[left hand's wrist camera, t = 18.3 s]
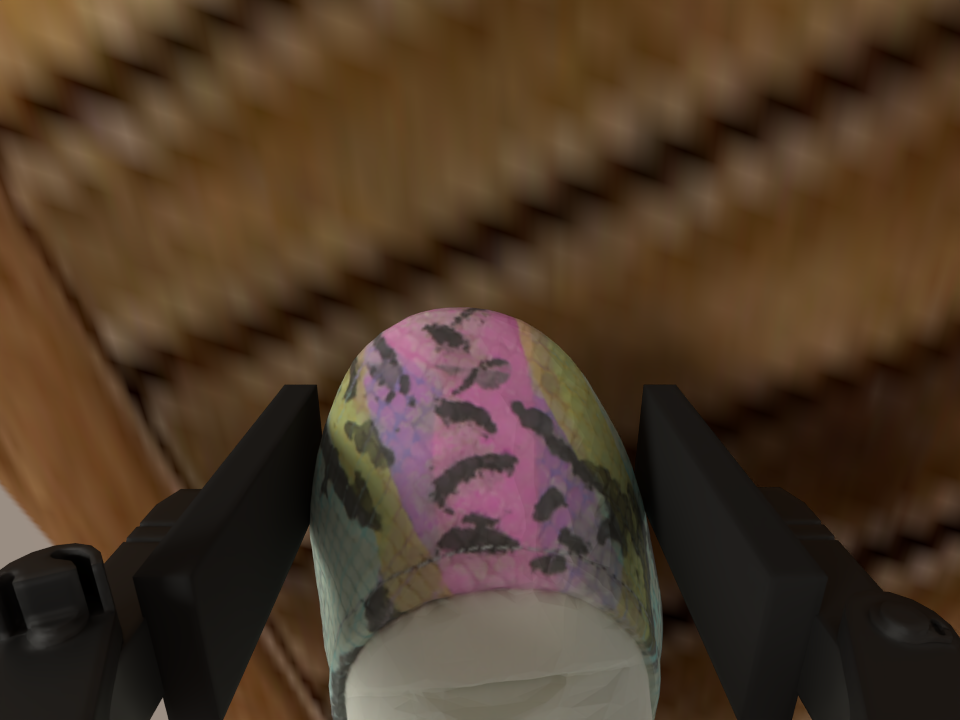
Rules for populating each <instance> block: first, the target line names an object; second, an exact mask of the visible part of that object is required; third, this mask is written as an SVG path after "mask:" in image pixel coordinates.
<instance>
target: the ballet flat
mask: <svg viewBox="0 0 960 720" xmlns="http://www.w3.org/2000/svg"><path fill="white" fill-rule="evenodd" d="M310 539H311V544H312V550H313V558H314V566H315V574H316V581H317V587H318V593H319V600H320V608H321V619H322V624H323V637H324V646H325V651H326V655H327V661H328V664H329V671H330V679H329V691H330V701H331V709H332V717H333V720H654V718H655V713H656V709H657V704H658V699H659V693H660V681H661V676H660V657H661V651H662V636H663V616H662V602H661V595H660V589H659V583H658V577H657V571H656V566H655V560H654V555H653V550H652V545H651V540H650V534H649V528H648V523H647V519H646V514H645V510H644V505H643V501H642V497H641V494H640V491H639V487H638V484H637V481H636V478H635V475H634V471H633V468H632V466H631V463H630V460H629V458H628V455H627V453H626V450H625V448H624V445H623V443H622V441H621V439H620V437H619V435H618V433H617V431H616V429H615V427H614V425H613V423H612V422H611V420H610V418H609V416H608V414H607V413H606V411H605V409H604V407H603V406H602V404H601V402H600V401H599V399H598V397H597V396H596V394H595V392H594V391H593V389H592V387H591V386H590V384H589V382H588V381H587V379H586V378H585V376H584V375H583V374H582V372H581V371H580V370H579V368H578V367H577V366H576V364H575V363H574V362H573V361H572V359H571V358H570V357H569V356H568V355H567V354H566V353H565V352H564V351H563V350H562V349H561V348H560V347H559V346H558V345H557V344H556V343H554V342H553V341H552V340H551V339H549V338H548V337H547V336H546V335H544V334H543V333H542V332H540V331H539V330H537V329H535V328H534V327H532V326H530V325H529V324H527V323H525V322H524V321H522V320H519V319H516V318H513V317H511V316H508V315H505V314H502V313H499V312H495V311H491V310H485V309H477V308H440V309H433V310H429V311H425V312H421V313H418V314H415V315H412V316H410V317H407V318H406V319H404V320H402V321H401V322H399V323H397V324H395V325H394V326H392V327H390V328H389V329H387V330H385V331H383V332H382V333H380V334H379V335H378V336H377V337H376V338H375V339H374V340H373V341H372V342H370V343H369V344H368V345H367V346H366V347H365V348H364V349H363V350H362V351H361V352H360V353H359V355H358V356H357V357H356V358H355V359H354V361H353V363H352V364H351V366H350V368H349V370H348V372H347V374H346V375H345V377H344V379H343V381H342V383H341V385H340V387H339V389H338V392H337V395H336V397H335V400H334V403H333V405H332V408H331V411H330V413H329V416H328V419H327V421H326V424H325V427H324V431H323V435H322V439H321V442H320V446H319V450H318V454H317V459H316V465H315V472H314V478H313V486H312V495H311V504H310Z"/></svg>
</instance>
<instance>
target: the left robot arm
mask: <svg viewBox="0 0 960 720" xmlns="http://www.w3.org/2000/svg"><path fill="white" fill-rule="evenodd" d="M321 439H322V430H321V420H320V411H319V401H318V392H317V385H284V386H283V388H282V389H281V390H280V391H279V393H278V394H277V395H276V396H275V398H274V399H273V400H272V402H271V403H270V404H269V405H268V407H267V408H266V409H265V410H264V412H263V413H262V414H261V415H260V417H259V418H258V419H257V420H256V422H255V423H254V424H253V425H252V427H251V428H250V429H249V431H248V432H247V433H246V434H245V436H244V437H243V438H242V439H241V441H240V442H239V443H238V444H237V446H236V447H235V448H234V449H233V451H232V452H231V453H230V454H229V456H228V457H227V458H226V460H225V461H224V462H223V463H222V465H221V466H220V467H219V468H218V470H217V471H216V472H215V473H214V475H213V476H212V477H211V478H210V480H209V481H208V482H207V483H206V485H205V486H204V487H203V489H180V490H179V491H177V492H176V493H174V494H172V495H171V496H169V497H168V498H166V499H165V500H163V501H161V502H160V503H158V504H157V505H156V506H155V507H154V508H153V509H152V510H151V511H150V512H149V514H148V515H147V516H146V517H145V518H144V519H143V520H142V522H141V523H140V527H136V528H135V529H134V531H133V532H132V533H131V534H130V535H129V536H128V537H127V541H126V542H123V543H122V544H121V545H120V546H119V548H118V549H117V550H116V551H115V552H114V553H113V554H112V555H111V557H110V558H109V559H108V560H107V561H106V562H105V563H103V559H102V556H101V552H100V551H98V550H97V549H95V548H94V547H93V546H91V545H84V544H77V543H73V544H64V545H56V546H52V547H49V548H45V549H42V550H39V551H35V552H32V553H30V554H28V555H25V556H23V557H21V558H19V559H17V560H15V561H13V562H11V563H9V564H8V565H6V566H5V567H4V568H2V569H1V570H0V720H150V719H151V717H152V715H153V713H154V712H155V710H156V708H157V706H158V705H159V703H160V701H161V699H162V698H163V700H164V704H165V708H166V711H167V715H168V719H169V720H223V719H224V716H225V714H226V712H227V710H228V707H229V705H230V703H231V701H232V698H233V696H234V694H235V692H236V689H237V687H238V685H239V683H240V680H241V678H242V676H243V674H244V671H245V669H246V667H247V664H248V662H249V660H250V658H251V655H252V653H253V651H254V649H255V646H256V644H257V642H258V640H259V637H260V635H261V633H262V631H263V628H264V626H265V624H266V621H267V619H268V617H269V615H270V612H271V610H272V608H273V606H274V603H275V601H276V599H277V597H278V594H279V592H280V590H281V588H282V585H283V583H284V581H285V578H286V576H287V574H288V572H289V569H290V567H291V565H292V563H293V560H294V558H295V556H296V554H297V551H298V549H299V547H300V545H301V542H302V540H303V538H304V535H305V533H306V531H307V529H308V526H309V524H310V504H311V495H312V486H313V478H314V472H315V465H316V459H317V454H318V450H319V446H320V442H321ZM634 475H635V478H636V481H637V484H638V487H639V491H640V494H641V497H642V501H643V505H644V510H645V512H646V514H647V516H648V519H649V521H650V523H651V525H652V528H653V530H654V532H655V535H656V537H657V539H658V541H659V544H660V546H661V548H662V550H663V553H664V555H665V557H666V559H667V562H668V564H669V566H670V568H671V571H672V573H673V575H674V577H675V580H676V582H677V584H678V587H679V589H680V591H681V593H682V596H683V598H684V600H685V602H686V605H687V607H688V609H689V611H690V614H691V616H692V618H693V620H694V623H695V625H696V627H697V630H698V632H699V634H700V636H701V639H702V641H703V643H704V645H705V648H706V650H707V652H708V654H709V657H710V659H711V661H712V663H713V666H714V668H715V670H716V673H717V675H718V677H719V679H720V682H721V684H722V686H723V688H724V691H725V693H726V695H727V697H728V700H729V702H730V704H731V706H732V709H733V711H734V713H735V716H736V718H737V720H792V717H793V713H794V709H795V706H796V702H797V698H798V696H799V697H800V699H801V701H802V703H803V704H804V706H805V708H806V710H807V711H808V713H809V715H810V717H811V718H812V720H960V637H959V636H958V635H957V633H956V632H955V630H954V629H953V628H952V626H951V625H950V624H949V623H948V622H946V621H945V620H944V619H943V618H941V617H940V616H939V615H938V614H937V613H935V612H934V611H932V610H931V609H929V608H927V607H925V606H923V605H921V604H920V603H918V602H916V601H914V600H912V599H909V598H906V597H903V596H900V595H897V594H894V593H891V592H883V590H882V589H881V588H880V587H879V586H878V585H877V584H876V583H875V581H874V580H873V579H872V578H871V577H870V576H869V575H868V574H867V572H866V571H865V570H864V569H863V568H862V567H861V566H860V565H859V563H858V562H857V561H856V560H855V559H854V558H853V557H852V556H851V554H850V553H849V552H848V551H847V550H846V549H845V548H844V547H843V545H842V544H841V543H840V542H839V541H838V540H835V539H834V535H833V534H832V533H831V532H830V531H829V530H828V529H827V527H826V526H825V525H821V521H820V520H819V518H818V517H817V516H816V515H815V514H814V513H813V512H812V511H811V509H810V508H809V507H808V506H807V505H806V504H805V503H804V502H802V501H801V500H799V499H798V498H796V497H794V496H793V495H791V494H790V493H788V492H787V491H785V490H783V489H782V488H780V487H756V485H755V484H754V483H753V482H752V480H751V479H750V478H749V477H748V475H747V474H746V473H745V472H744V470H743V469H742V468H741V466H740V465H739V464H738V463H737V461H736V460H735V459H734V458H733V456H732V455H731V454H730V453H729V451H728V450H727V449H726V448H725V446H724V445H723V444H722V443H721V441H720V440H719V439H718V437H717V436H716V435H715V434H714V432H713V431H712V430H711V429H710V427H709V426H708V425H707V424H706V422H705V421H704V420H703V419H702V417H701V416H700V415H699V414H698V412H697V411H696V410H695V408H694V407H693V406H692V405H691V403H690V402H689V401H688V400H687V398H686V397H685V396H684V395H683V393H682V392H681V391H680V390H679V388H678V387H677V386H676V385H644V386H643V396H642V405H641V415H640V425H639V434H638V444H637V453H636V463H635V472H634Z"/></svg>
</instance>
